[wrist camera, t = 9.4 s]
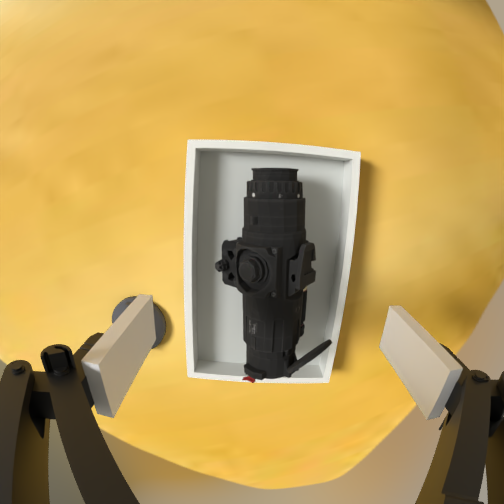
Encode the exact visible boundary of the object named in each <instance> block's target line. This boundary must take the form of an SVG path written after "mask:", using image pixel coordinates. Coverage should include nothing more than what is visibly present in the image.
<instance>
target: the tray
mask: <svg viewBox="0 0 504 504" xmlns="http://www.w3.org/2000/svg"><path fill="white" fill-rule="evenodd" d="M360 156H361V152H356V151H349V150H342V149H334V148H326V147H318V146H308V145H298V144H287V143H274V142H259V141H238V140H188V145H187V161H186V181H185V208H184V311H185V338H186V357H187V373H188V377H193V378H202V379H213V380H225V381H240V382H250V381H248V380H242V379H243V377H248V375H246V374H245V373H244V365H245V364H246V343H245V342H244V340H243V300H242V293H240V292H239V291H238V290H237V288H235V287H232V286H229V285H226V284H224V282H223V281H222V271H221V272H218V271H217V270H216V269H215V263H216V262H218V261H220V260H221V259H222V244H223V241H225V240H227V239H228V241H231V240H236V239H237V237H242V228H243V227H244V197H247V181H251V180H253V171H252V170H251V169H252V168H293V169H299V170H298V171H297V181H299V182H302V186H303V198H305V199H306V204H305V229H306V240H308V241H309V242H311V243H314V245H315V252H316V260H315V261H311V266H312V268H313V269H314V270H315V271H316V278H315V282H313V283H311V284H310V285H308V286H307V303H306V317H305V321H304V322H303V323H304V325H305V328H304V334H303V336H302V337H300V339H299V342H298V344H297V345H296V350H295V353H296V357H297V360H299V359H300V358H301V357H303V356H304V355H305V354H307V353H308V352H310V351H311V350H313V349H314V348H316V347H317V346H318V345H320V344H321V343H323V342H325V341H327V340H329V339H330V340H331V341H332V344H331V345H330V346H329V347H328V348H327V349H326V350H325V351H323V352H322V353H321V354H320V355H318V356H317V357H316V358H314V359H313V360H312V361H310V362H309V363H307V364H306V365H304V366H303V367H301V368H299V371H295V372H294V373H293V374H292V375H291V377H290V378H287V377H285V376H284V377H282V378H276V379H266V378H265V379H263V380H257V379H255V382H260V383H329V379H330V375H331V371H332V366H333V362H334V357H335V353H336V348H337V343H338V338H339V333H340V328H341V322H342V317H343V311H344V305H345V299H346V293H347V287H348V280H349V273H350V266H351V259H352V251H353V243H354V234H355V224H356V214H357V203H358V190H359V175H360Z"/></svg>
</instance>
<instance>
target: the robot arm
mask: <svg viewBox="0 0 504 504" xmlns="http://www.w3.org/2000/svg"><path fill="white" fill-rule="evenodd" d="M155 340H156V334H155V323H154V311H153V297H152V295H143V294H139V295H138V296H137V297H136V298H135V300H134V301H133V302H132V303H131V304H130V305H129V306H128V307H127V308H126V309H125V311H124V312H123V313H122V314H121V315H120V316H119V317H118V318H117V320H116V321H115V322H114V323H113V324H112V325H111V326H110V327H109V329H108V330H107V331H106V332H105V333H104V334H103V333H96V334H94V335H93V336H91V337H89V338H88V339H87V340H86V342H85V343H84V344H83V345H82V346H81V347H80V349H78V350H77V351H76V353H75V354H74V355H72V351H71V349H70V348H69V347H68V346H66V345H62V344H56V345H51V346H48V347H47V348H45V349H44V350H43V351H42V352H41V359H42V363H43V366H44V369H45V371H46V372H38V371H33V370H32V367H31V365H30V363H29V362H27V361H24V360H16V361H13V362H11V363H10V364H8V365H7V366H6V368H5V370H4V373H3V375H2V378H1V381H0V504H50V502H49V486H48V485H49V483H48V448H49V428H50V419H56V421H57V425H58V429H59V432H60V436H61V439H62V443H63V445H64V449H65V452H66V455H67V458H68V461H69V464H70V467H71V470H72V472H73V475H74V478H75V480H76V483H77V485H78V487H79V490H80V492H81V495H82V497H83V499H84V501H85V503H86V504H140V503H139V502H138V500H137V499H136V497H135V496H134V494H133V492H132V491H131V489H130V487H129V485H128V484H127V482H126V480H125V479H124V477H123V475H122V473H121V471H120V470H119V468H118V466H117V464H116V462H115V460H114V458H113V456H112V454H111V452H110V450H109V448H108V446H107V444H106V442H105V440H104V438H103V435H102V433H101V431H100V429H99V427H98V424H97V422H96V420H95V417H94V415H93V412H92V410H91V408H92V406H93V405H95V408H96V411H97V414H100V415H104V416H108V417H112V418H114V416H115V414H116V412H117V410H118V409H119V407H120V405H121V403H122V401H123V399H124V397H125V395H126V393H127V392H128V390H129V388H130V386H131V384H132V382H133V380H134V379H135V377H136V375H137V373H138V371H139V369H140V367H141V366H142V364H143V362H144V360H145V358H146V357H147V355H148V353H149V351H150V349H151V348H152V346H153V344H154V342H155ZM379 348H380V349H381V351H382V352H383V354H384V355H385V357H386V358H387V360H388V361H389V363H390V364H391V366H392V367H393V369H394V370H395V372H396V373H397V375H398V376H399V378H400V379H401V381H402V382H403V384H404V385H405V387H406V388H407V390H408V391H409V393H410V395H411V396H412V398H413V399H414V401H415V402H416V404H417V406H418V407H419V409H420V410H421V412H422V413H423V415H424V417H425V418H426V420H429V419H433V418H437V417H440V415H441V413H442V411H443V409H444V407H446V409H447V410H448V414H447V416H446V417H445V419H444V421H443V423H442V425H441V426H440V428H439V430H441V429H442V432H441V435H440V438H439V442H438V445H437V448H436V451H435V454H434V457H433V460H432V463H431V466H430V469H429V472H428V474H427V477H426V479H425V482H424V484H423V487H422V489H421V492H420V494H419V496H418V498H417V501H416V503H415V504H484V503H483V502H479V501H478V497H479V493H480V489H481V484H482V479H483V473H484V467H485V465H486V475H487V490H488V504H504V417H503V416H504V372H502V374H501V376H500V378H499V380H490V377H489V376H488V375H487V374H486V373H484V372H482V371H479V370H471V371H470V370H469V369H468V368H467V367H466V366H465V365H464V364H463V363H462V362H461V361H460V360H459V359H458V358H457V357H456V356H455V355H454V354H453V352H452V351H451V350H450V349H449V348H447V347H446V346H444V345H442V344H441V343H438V342H437V341H436V340H435V339H434V338H433V337H432V336H431V335H430V334H429V333H428V332H427V331H426V330H425V329H424V328H423V327H422V326H421V325H420V324H419V323H418V322H417V321H416V320H415V319H414V318H413V317H412V316H411V315H410V314H409V313H408V312H407V311H406V310H405V309H404V308H403V307H402V306H389V310H388V314H387V319H386V323H385V327H384V331H383V334H382V338H381V342H380V346H379ZM442 427H443V428H442Z"/></svg>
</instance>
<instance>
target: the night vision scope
mask: <svg viewBox="0 0 504 504" xmlns="http://www.w3.org/2000/svg"><path fill="white" fill-rule="evenodd" d="M251 170H252V171H253V180H251V181H247V197H244V227H243V228H242V237H237V239H236V240H231V241H228V239H227V240H225V241H223V244H222V259H221V260H220V261H218V262H216V263H215V269H216V270H217V271H218V272H221V271H222V281H223V282H224V284H226V285H229V286H232V287H235V288H237V290H238V291H239V292H240V293H242V300H243V340H244V342H245V343H246V364H245V365H244V373H245V374H246V375H248V377H243V379H242V380H248V381H250V382H252V383H254V382H255V379H257V380H263V379H265V378H266V379H276V378H282V377H284V376H285V377H287V378H290V377H291V375H292V374H293V373H294V372H295V371H299V368H301V367H303V366H304V365H306V364H307V363H309V362H310V361H312V360H313V359H314V358H316V357H317V356H318V355H320V354H321V353H322V352H323V351H325V350H326V349H327V348H328V347H329V346H330V345H331V344H332V341H331V340H330V339H329V340H327V341H325V342H323V343H321V344H320V345H318V346H317V347H316V348H314V349H313V350H311V351H310V352H308V353H307V354H305V355H304V356H303V357H301V358H300V359H299V360H297V357H296V353H295V350H296V345H297V344H298V342H299V339H300V337H302V336H303V334H304V328H305V325H304V323H303V322H304V321H305V317H306V303H307V286H308V285H310V284H311V283H313V282H315V278H316V271H315V270H314V269H313V268H312V266H311V261H315V260H316V252H315V245H314V243H311V242H309V241H308V240H306V229H305V204H306V199H305V198H303V186H302V182H299V181H297V171H298V170H299V169H293V168H252V169H251Z"/></svg>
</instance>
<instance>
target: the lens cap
mask: <svg viewBox="0 0 504 504" xmlns="http://www.w3.org/2000/svg"><path fill="white" fill-rule="evenodd" d="M136 297H137V296H133V297H128V298H126V299H124V300H122V301H121V302H120V303H119V304H118V305H117V306H116V307H115V309H114V311H113V315H112V323H114V322H115V321H116V320H117V318H118V317H119V316H120V315H121V314H122V313H123V312H124V311H125V309H126V308H127V307H128V306H129V305H130V304H131V303H132V302H133V301H134V300H135V298H136ZM153 311H154V323H155V334H156V340H155V342H154V344H153V346H152V348H151V349H153V348H155V347H156V346H157V345H158V344H159V343H160V342H161V340H162V339H163V337H164V335H165V332H166V322H165V318H164V316H163V314H162V312H161V311H160V309H159V308H158V307H157V306H156V305H155V304H154V303H153Z"/></svg>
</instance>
